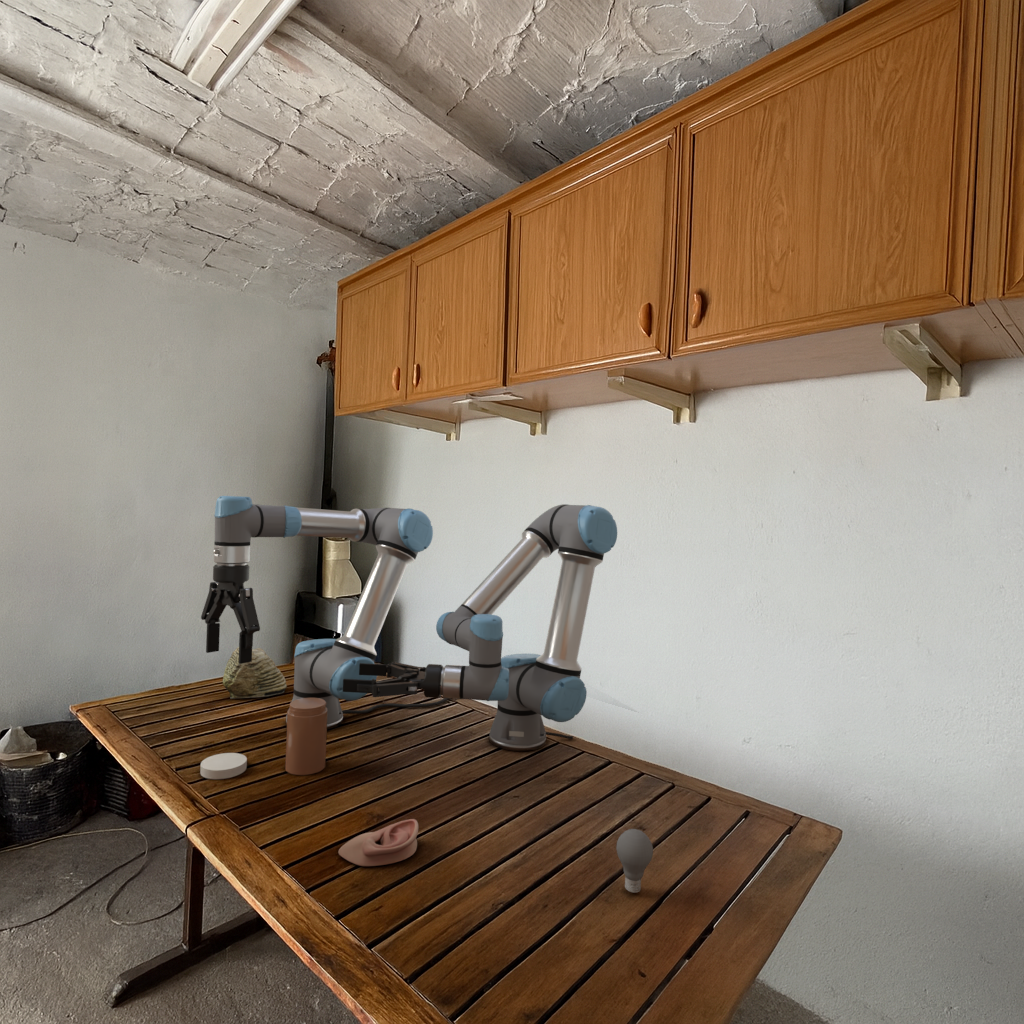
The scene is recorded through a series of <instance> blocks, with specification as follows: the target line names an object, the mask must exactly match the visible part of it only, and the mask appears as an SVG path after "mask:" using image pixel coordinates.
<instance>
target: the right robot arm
mask: <svg viewBox="0 0 1024 1024" xmlns="http://www.w3.org/2000/svg"><path fill="white" fill-rule="evenodd" d="M617 540H618V526H617V522H616V520H615V519H614V516H613V515H612V513H611V512H610V511H609V510H607V509H606V508H604V507H601V506H596V505H591V504H587V505H586V504H585V505H584V504H566V503H565V504H562V503H561V504H558V505H555V506H552V507H551V508H548V509H547V510H546V511H544V512H543V513H541V514H540V515H538V517H536V518H535V519H534V520H533V521H532V522H531V523H530V524H529V525H528V526H527V527H526V528H525V529H524V530H523V531H522V532H521V539H520V540H519V541H518V542H517V543H516V544H515V546H514V547H513V548H512V549H511V550H510V551H509V552H508V553H507V554H506V556H504V557H503V558H502V559H501V561H499V563H498V564H497V565H496V566H495V568H494V569H493V570H492V571H490V573H489V574H488V575H487V576H486V577H485V578H484V579H483V580H482V581H481V583H480V584H479V585H478V586H477V587H475V589H474V590H473V591H472V592H471V594H469V595H468V596H467V598H466V599H465V600H464V601H463V602H462V603H461V604H460V605H459V606H458V607H457V608H456V609H455V611H447V612H445V613H443V614H441V615H440V616H439V618H438V619H437V621H436V625H435V626H436V627H435V629H436V634H437V636H438V637H439V638H440V639H441V640H443V641H444V642H446V643H447V644H449V645H452V646H455V647H458V648H459V649H460V648H461V649H462V650H465V651H467V652H468V665H460V664H459V665H458V664H445V666H443V665H442V664H436V663H428V664H427V665H426V666H417V665H411V664H407V663H401V662H396V661H391V663H388V664H386V663H375V664H368V663H360V664H359V675H370V676H377V677H386V678H389V679H383V680H378V681H377V679H376V680H375V679H372V680H359V679H343V692H356V693H367V694H371V695H372V697H373V698H381V697H392V696H393V697H394V696H403V695H404V696H405V695H413V696H414V695H415V696H416V695H417V694H418V690H423V695H424V697H425V698H428V699H429V698H431V699H439V698H441V697H442V698H443V699H444V698H452V699H451V700H452V701H457V700H471V701H472V700H473V701H484V702H485V701H486V702H497V709H496V713H495V716H494V719H493V722H492V724H491V726H490V729H489V733H488V734H489V735H488V738H489V739H488V740H489V742H490V744H492V745H493V746H495V747H497V748H499V749H502V750H507V751H512V752H529V751H535V750H538V749H541V748H543V747H544V746H545V745H546V743H547V736H553V737H559V738H563V739H568V740H573V739H574V736H573V735H565V734H561V733H556V732H550V731H546V728H545V725H544V721H543V718H544V719H546V720H549V721H554V722H557V723H566V722H569V721H571V720H573V719H574V718H575V716H578V714H579V713H580V712H581V711H582V709H583V708H584V705H585V703H586V700H587V693H588V692H587V691H588V690H587V688H586V686H585V685H586V684H585V683H584V681H583V680H582V679H581V676H582V675H581V674H582V667H581V665H580V663H579V661H578V657H579V652H580V647H581V642H582V637H583V633H584V628H585V627H584V626H585V621H586V617H587V612H588V607H589V603H590V602H589V601H590V598H591V597H590V596H591V592H592V586H593V581H594V576H595V571H596V568H597V566H599V565H600V564H602V563H603V561H604V556H605V554H606V553H609V552H610V551H611V550H612V548H614V547H615V545H616V543H617ZM555 551H557V554H558V556H559V557H560V559H561V564H560V570H559V575H558V579H557V585H556V591H555V595H554V599H553V603H552V610H551V614H550V620H549V624H548V629H547V635H546V640H545V643H544V644H545V645H544V649H543V653H542V654H538V653H512V654H506V655H504V656H502V651H503V637H504V631H503V629H504V627H503V619H502V617H501V616H499V615H496V614H494V613H495V612H497V610H498V609H499V608H500V607H501V605H502V604H503V603H504V602H505V601H506V600H507V599H508V597H510V595H511V594H512V593H514V591H515V589H517V587H519V585H520V584H521V583H522V582H523V581H524V579H526V577H527V576H528V575H529V574H531V572H532V571H533V570H534V568H535V567H536V566H537V565H538V564H539V563H540V561H541V560H543V559H547V558H549V557H551V555H552V554H553V553H554V552H555ZM392 677H393V678H392ZM390 678H391V679H390Z"/></svg>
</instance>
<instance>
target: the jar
mask: <svg viewBox="0 0 1024 1024" xmlns="http://www.w3.org/2000/svg"><path fill="white" fill-rule="evenodd" d="M289 707H290V709H289V708H288V709H287V711H286V712H287V713H286V715H287V726H286V736H285V737H286V738H285V761H284V762H285V763H284V764H285V765H284V769H285V771H286V772H287V773H288V774H291V775H295V776H296V775H297V776H306V775H313V774H316V773H319V772H321V771H322V770H324V769H325V768H326V759H327V758H326V757H327V738H328V737H327V736H328V735H327V733H328V730H327V713H328V709H327V708H326V701H325V700H323V699H320V698H301V699H297V700H294V701H292V700H291V702H290V703H289Z"/></svg>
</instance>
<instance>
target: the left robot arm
mask: <svg viewBox="0 0 1024 1024" xmlns="http://www.w3.org/2000/svg"><path fill="white" fill-rule="evenodd" d="M214 508H215V509H214V542H213V543H214V547H213V550H212V553H213V562H214V563H215V564H214V565H213V567H212V580H213V581H211V582H210V583H209V587H208V589H209V590H208V593H207V596H206V599H205V603H204V606H203V609H202V613H201V615H200V619H201V620H202V621H204V623H205V624H206V640H205V653H206V654H209V653H216V652H220V633H221V632H220V629H221V623H220V622H221V620H220V618H221V616H222V614H223V613H224V611H225V609H226V608H227V606H228V607H229V608H230V609H232V610H233V612H234V616H235V618H236V620H237V623H238V625H239V629H240V632H239V633H238V634H239V635H238V636H239V637H238V639H239V640H238V647H239V662H238V663H239V664H242V663H247V662H252V649H253V646H254V633H256V632H260V631H261V626H260V623H259V618H258V613H257V610H256V609H257V608H256V604H255V600H254V590H253V588H252V587H246V588H245V585H244V584H245V582H248V581H249V579H250V566H249V564H248V563H250V562H251V539H252V538H284V539H285V538H292V537H295V536H298V537H300V536H301V537H322V538H339V539H340V538H344V539H349V541H351V542H355V543H365V544H370V545H374V546H375V549H376V552H377V556H376V559H375V561H374V563H373V565H372V568H371V570H370V573H369V575H368V578H367V580H366V582H365V585H364V587H363V589H362V592H361V593H360V596H359V598H358V601H357V603H356V606H355V608H354V611H353V613H352V615H351V617H350V620H349V622H348V624H347V627H346V629H345V632H344V634H343V635H342V636H340V637H338V638H318V639H308V640H304V641H300V642H299V643H297V644H296V646H295V650H294V655H293V657H294V672H293V673H294V674H293V695H292V696H293V697H292V699H291V702H292V701H294V700H297V699H301V698H320V699H323V700H325V701H326V708H327V709H328V713H327V731H329V730H332V729H335V728H337V727H339V726H340V725H342V723H343V722H344V715H364V714H369V713H371V712H373V711H374V710H377V709H380V708H403V709H404V708H407V709H409V708H429V707H434V706H438V705H441V704H443V703H445V702H447V701H449V700H452V698H444V697H443V698H442V699H440V700H438V701H434V702H429V703H390V702H389V703H379V704H376V705H373V706H371V707H369V708H366V709H362V710H360V709H359V710H357V709H356V710H355V709H346V710H345V709H342V706H341V702H340V700H344V701H349V702H353V701H357V700H360V699H361V698H363V697H365V696H367V694H368V693H356V692H343V679H359V680H372V679H375V680H376V681H377V678H378V676H370V675H359V664H360V663H368V664H376V663H375V661H376V658H377V655H378V654H377V651H376V649H375V645H376V643H377V641H378V639H379V638H378V637H379V635H380V633H381V630H382V628H383V626H384V624H385V621H386V618H387V615H388V613H389V611H390V608H391V606H392V604H393V601H394V598H395V596H396V593H397V591H398V588H399V587H400V584H401V582H402V579H403V576H404V574H405V571H406V569H407V566H408V565H410V564H412V563H414V562H416V559H417V557H418V554H419V553H421V552H423V551H424V550H427V549H428V548H429V546H430V545H431V543H432V541H433V537H434V528H433V525H432V521H431V520H430V518H429V516H428V515H427V514H426V513H424V512H423V511H421V510H418V509H413V508H400V507H399V508H397V507H375V508H374V507H373V508H353V509H351V510H350V511H349V510H338V509H337V510H336V509H321V508H310V507H309V508H308V507H296V506H290V505H271V504H270V505H269V504H259V503H253V499H252V498H251V497H250V496H238V495H237V496H235V495H220V496H219V497H218V498H217V499H216V501H215V507H214ZM289 709H290V706H289V708H288V710H289ZM285 726H286V727H287V714H286V715H285Z"/></svg>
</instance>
